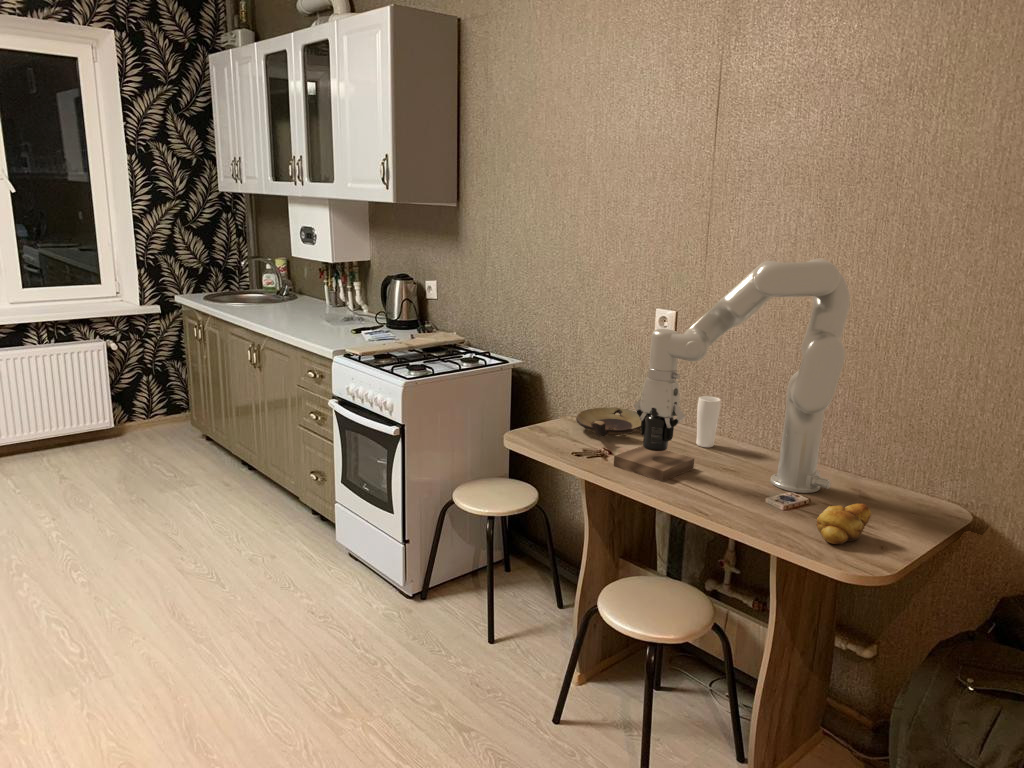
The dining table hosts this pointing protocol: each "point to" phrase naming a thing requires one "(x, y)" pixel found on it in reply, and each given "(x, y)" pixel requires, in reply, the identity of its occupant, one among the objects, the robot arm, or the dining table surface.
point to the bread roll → (843, 522)
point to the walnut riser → (654, 463)
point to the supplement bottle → (654, 432)
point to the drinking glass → (707, 420)
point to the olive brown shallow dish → (609, 421)
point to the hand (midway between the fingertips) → (656, 436)
